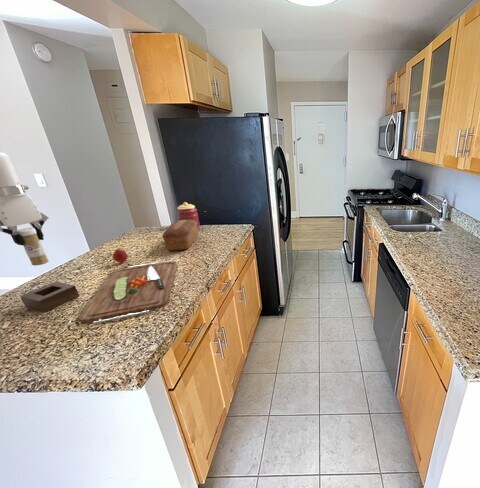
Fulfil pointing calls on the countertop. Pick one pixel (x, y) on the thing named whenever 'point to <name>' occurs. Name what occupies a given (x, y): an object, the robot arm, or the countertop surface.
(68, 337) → the countertop surface
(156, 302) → the chopping board
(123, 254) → the red rounded lump
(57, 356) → the countertop surface
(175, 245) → the bread
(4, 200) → the robot arm
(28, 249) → the sprinkles bottle
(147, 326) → the countertop surface
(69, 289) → the spice block
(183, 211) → the kitchen canister
